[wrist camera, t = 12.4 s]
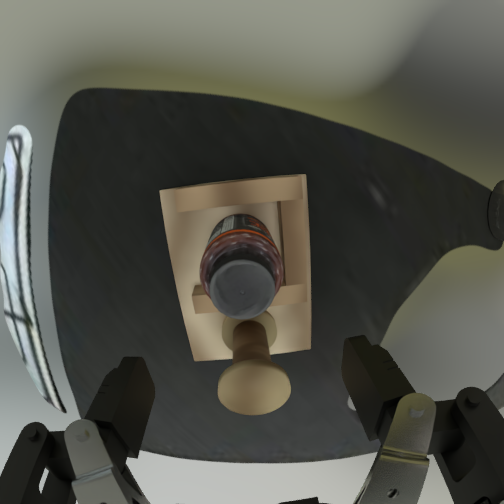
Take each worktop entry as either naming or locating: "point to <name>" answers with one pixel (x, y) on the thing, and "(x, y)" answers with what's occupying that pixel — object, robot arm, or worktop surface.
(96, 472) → the robot arm
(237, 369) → the bobbin post
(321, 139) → the worktop surface
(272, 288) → the supplement bottle
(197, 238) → the notched board
